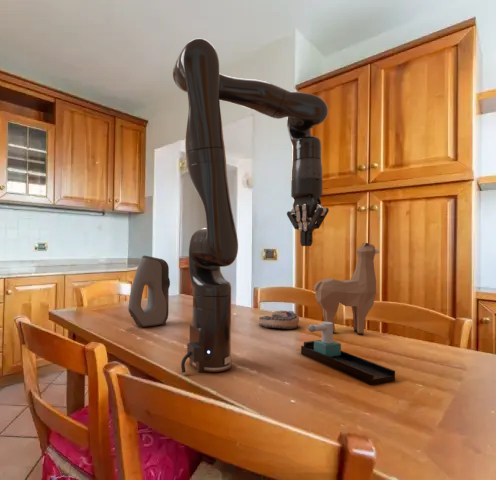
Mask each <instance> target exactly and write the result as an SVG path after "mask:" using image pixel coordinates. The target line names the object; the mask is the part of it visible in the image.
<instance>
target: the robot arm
mask: <svg viewBox="0 0 496 480" xmlns="http://www.w3.org/2000/svg"><path fill="white" fill-rule="evenodd" d="M172 79H173V82H174V83H175V85H176V86H177V88H178V89H179V90H181V91H182V92H184V93H186V94H187V100H188V113H187V114H188V115H187V121H186V122H187V124H186V129H185V130H186V131H185V145H184V146H185V148H184V149H185V158H186V168H187V169H186V170H187V175H188V178H189V180H190V183H191V184H192V187H193V188H194V190H195V192H196V193H197V195H198V197H199V199H200V201H201V203H202V206H203V211H204V214H205V215H204V216H205V224H206V227H203V228H199V229H197V230H196V231H195V232H193V234H192V235H191V237H190V240H189V244H188V269H189V271H188V272H189V273H188V274H189V281H190V284H191V286H192V323H190V324H189V342H187V343H186V346H187V349H186V350H187V351H186V354H185V355H184V356H183V357H182V360H181V362H180V367H181V373H186V366H185V365H186V361H187V360H188V359H189V360H188V361H189V365H191V366H192V367H193V368H194V369H195V370H197V372H199V373H200V372H206V373H207V372H208V373H220V372H225V371H228V370H230V369H231V368H232V285H231V284H232V283H230V281H228V279H226V278H225V276H224V275H223V273H222V272H221V268H226V267H229V266H231V265H232V264H234V262H235V260H236V258H237V256H238V253H239V239H238V234H237V228H236V224H235V219H234V214H233V209H232V204H231V196H230V187H229V180H228V170H227V169H228V168H227V157H226V146H225V139H224V131H223V121H222V112H221V102H220V101H222V102H226V103H230V104H234V105H238V106H241V107H244V108H246V109H249V110H252V111H255V112H257V113H260V114H261V115H265V116H267V117H269V118H272V119H275V120H276V119H277V120H280V119H284V118H286V127H287V131H288V136H289V140H290V143H291V146H292V150H291V151H292V156H291V157H292V162H291V163H292V164H291V170H290V171H291V173H290V196H291V198H293V203H292V209H291V210H290V211H289V210H288V211H287V212H286V216H287V218H288V220H289V221H290V223H291V225H292V226H293V228H294V230H298V231H299V235H300V236H299V239H300V241H299V243H300V246H301V247H311V246H312V245H313V239H314V238H313V236H314V235H313V232H314V231H315V230H317V229H320V227H321V225H322V223H323V222H324V220H325V219H326V216H327V215H328V213H329V211H330V210H329V208H328V207H324V206H323V205H322V200H321V197H322V196H323V163H322V162H323V161H322V154H323V153H322V141H321V139H320V138H319V137H318V136H315V135H312V132H311V131H312V129H313V128H315V127H317V126H319V125H321V124H322V123H324V121H326V119H327V118H328V116H329V107H328V104H327V103H326V101H325V100H324V99H323V98H321V97H320V96H318V95H315V94H312V93H307V92H301V91H292V90H287V89H285V88H283V87H281V86H278V85H277V84H273V83H271V82H269V81H265V80H260V79H254V78H241V77H234V76H229V75H225V74H223V73H220V59H219V55H218V53H217V51H216V48H215V47H214V45H213V44H212V43H211V42H210V41H208V40H207V39H205V38H201V37H199V38H198V37H197V38H194V39H191V40H190V41H189V42H187V43H186V44H185V46H184V47H183V48H182V49H181V51H180V53H179V55H178V57H177V58H176V61H175V63H174V66H173V68H172Z"/></svg>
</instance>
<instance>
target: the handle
mask: <svg viewBox="0 0 496 480" xmlns="http://www.w3.org/2000/svg"><path fill="white" fill-rule="evenodd" d="M307 329H308V331H309V332H310V333H314V332H321V339H318V340H319V341H316V340H313V341H314V350H315V351H317V352H320V353H322V354H324V355H327V356H329V357H332V356H339V355H341V351H342V343H340V342H339V341H335V340H334V334H333V323H331V322H325V321H322V322H321V323H320V324H309V325H308V327H307Z"/></svg>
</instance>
